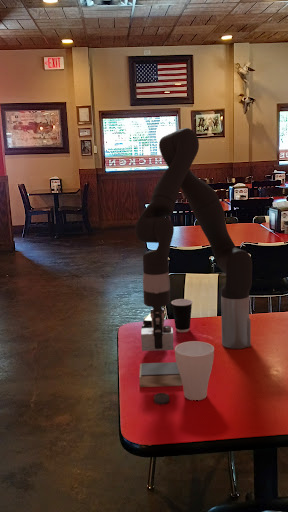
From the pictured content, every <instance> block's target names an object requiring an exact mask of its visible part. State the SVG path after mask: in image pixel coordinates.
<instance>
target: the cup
mask: <svg viewBox="0 0 288 512" xmlns="http://www.w3.org/2000/svg"><path fill="white" fill-rule="evenodd" d="M214 355H215V347H214V345H212V344H210V343H208V342H205V341H199V340H198V341H197V340H196V341H195V340H192V341H184V342H182V343H179V344H177V345H176V346H175V347H174V356H175V362H177V366H178V370H179V373H180V376H181V380H182V387H183V389H182V390H183V396H184V398H186V399H187V400H190V401H193V400H195V401H196V400H198V401H202V400H204V399H206V397H207V395H208V386H209V382H210V376H211V373H212V371H213V370H212V368H213V363H214V358H215V356H214Z"/></svg>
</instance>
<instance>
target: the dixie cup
mask: <svg viewBox="0 0 288 512" xmlns="http://www.w3.org/2000/svg"><path fill="white" fill-rule="evenodd" d="M170 304H171V306H172V312H173V314H172V315H173V321H174V326H175V328H174V329H175V330H176V332H178V333H187V332H189V331H190V328H191V320H192V319H191V317H192V305H193V300H192V299H188V298H178V299H174V300H172V301H170Z"/></svg>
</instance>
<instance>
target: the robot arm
mask: <svg viewBox="0 0 288 512" xmlns="http://www.w3.org/2000/svg"><path fill="white" fill-rule="evenodd" d="M199 141H200V140H199V138H198V136H197V134H196V132H195V131H194V130H193V129H191V128H189V127H185V128H180V129H177V130H175V131H174V132H171V133H168V134H166V135H165V136H163V137H161V139H160V140H159V142H158V143H159V145H158V146H159V148H158V149H159V152H160V155H161V157H162V159H163V161H164V162H165V163H164V164H165V165H167V169H166V170H165V171H164V173H163V174H162V175H161V177H160V178H159V180H158V181H157V182H156V185H155V187H154V189H153V192H152V195H151V198H150V202H149V204H148V205H147V206H146V208H145V209H144V211H143V212H142V213H141V215H140V216H139V217H138V220H137V222H136V224H135V228H134V233H135V237H136V239H137V240H138V241H139V242H141V243H154V244H158V246H157V248H156V249H154V250H152V249H151V250H148V251H146V252H144V253H143V255H142V266H143V267H142V268H143V269H142V271H143V272H142V273H143V277H142V286H143V287H142V291H143V304H144V305H145V306H147V307H151V308H150V313H151V318H152V328H153V329H154V333H153V335H154V341H155V349H162V348H163V346H162V336H163V333H162V328H163V327H164V326H165V308H163V307H167V306H168V305H170V304H171V283H170V282H171V281H170V275H169V254H170V250H171V244H172V240H173V237H174V231H175V229H174V228H175V227H174V224H173V222H172V220H171V219H170V218H169V216H171V215H172V214H173V212H174V210H175V206H176V202H177V199H178V197H179V196H178V195H179V193H180V190H181V191H182V193H183V194H184V196H185V198H186V200H187V203H188V204H189V207H190V209H191V211H192V213H193V215H194V217H195V219H196V221H197V222H198V225H199V226H200V228H201V230H202V232H203V234H204V236H205V237H206V239H207V241H208V243H209V245H210V248H211V251H212V254H213V257H214V259H215V261H216V265H217V266H218V267H219V269H220V271H221V272H223V273H224V274H225V284H224V285H223V286H222V287H221V288H220V295H221V296H220V298H221V299H220V301H221V302H220V303H221V305H220V307H221V309H220V310H221V313H220V314H221V315H220V316H221V319H220V320H221V344H222V346H223V347H224V348H227V349H231V350H232V349H233V350H241V349H245V348H249V347H250V348H251V346H252V345H251V344H252V343H251V341H252V337H251V336H252V335H251V332H252V330H251V329H252V328H251V326H252V325H251V318H250V291H251V288H252V282H253V281H252V279H253V261H252V257H251V255H250V253H248V252H247V251H246V250H243V249H240V248H238V246H236V245H235V243H234V241H233V239H232V238H231V236H230V234H229V231H228V228H227V223H226V213H225V209H224V207H223V204H222V202H221V200H220V198H219V196H218V194H217V192H216V191H215V190H214V188H212V187H211V186H210V185H209V184H207V183H206V182H205V181H203V180H202V179H200V178H199V177H198V176H196V175H195V174H194V172H193V171H192V170H191V166H192V164H193V162H194V160H195V159H196V156H198V155H197V154H198V151H199V147H200V144H199V143H200V142H199ZM150 313H149V314H150ZM155 330H161V332H156V333H155Z"/></svg>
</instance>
